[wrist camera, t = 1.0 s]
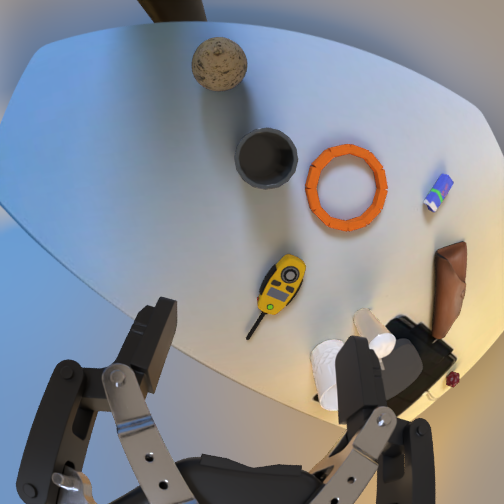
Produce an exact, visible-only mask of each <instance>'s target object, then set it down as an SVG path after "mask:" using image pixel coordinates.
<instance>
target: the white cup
mask: <svg viewBox="0 0 504 504" xmlns="http://www.w3.org/2000/svg"><path fill="white" fill-rule="evenodd" d="M344 344H345V343H344V342H343V341H341V340H336V339H331V340H327V341H324V342H322V343H320V344H319V345H317V346H316V347H315V349H314V350H313V351H312V353H311V357H310V360H311V364H312V368H313V375H314V380H315V385H316V389H317V393H318V397H319V402H320V405H321V407H322V408H324V409H326V410H329V411H338V399H337V384H336V372H335V359H336V355H337V353H338V352H339V350H340V349H341V348H342V346H343V345H344Z"/></svg>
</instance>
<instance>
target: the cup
mask: <svg viewBox="0 0 504 504" xmlns="http://www.w3.org/2000/svg"><path fill="white" fill-rule="evenodd" d="M297 163H298V156H297V149H296V147H295V145H294V144H293V142H292V140H291V139H290V138H289V137H288V136H287V135H285V134H284V133H283V132H281V131H280V130H276V129H272V128H261V129H255V130H253V131H252V132H250V133H248V134H247V135H245V136H244V137H243V139H242V140H241V141H240V143H239V144H238V145H237V149H236V153H235V164H236V169H237V171H238V173H239V174H240V176H241V177H242V179H243V180H244V181H245V182H247V183H248V184H250V185H251V186H253V187H255V188H260V189H264V190H265V189H266V190H267V189H273V188H277V187H280V186H281V185H283V184H285V183H286V182H288V181H289V180H290V178H291V177H292V175H293V174H294V173H295V171H296V167H297Z"/></svg>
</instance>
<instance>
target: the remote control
mask: <svg viewBox="0 0 504 504" xmlns="http://www.w3.org/2000/svg"><path fill="white" fill-rule="evenodd" d="M305 269H306V265H305V263H304V262H303V261H302V260H301V259H300V258H298V257H296V256H294V255H290V254H286V255H285V256H284V257H283V258H282V259H281V260H280V261H279V262H278V263H277V264H276V265H274V266H273V267H272V268H271V269H270V271H269V272H268V273H267V275H266V276H265V278H264V280H263V282H262V285H261V287H260V291H259V292H260V294H259V297H257V301H258V308H259V309H260V310H261V311H262V313H261V315H260V316H259V318H258V319H257V321H256V323H255V324H254V326H253V327H252V329H251V330H250V332H249V333H248V335H247V337H246V340H249V339H250V337H251V336H252V334H253V333H254V331H255V330H256V328H257V326H258V325H259V323H260V322H261V320H262V319H263V317H264V316H265V314H272V315H275V314H277V313H278V312H280V311H281V310H282V309H283V308H284V307H285V306H287V305H288V304H289V303H290V302H291V301H292V299H293V298H294V297H295V295H296V294H297V292H298V290H299V289H300V287H301V284H302V282H303V276H304V273H305Z"/></svg>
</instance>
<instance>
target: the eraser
mask: <svg viewBox="0 0 504 504" xmlns="http://www.w3.org/2000/svg"><path fill="white" fill-rule="evenodd" d="M452 185H453V181H452V179H451V178H450V176H449V175H447V174H441V175H440V177H439V179H438V180H437V182H436V183H435V185H434V187H433V188H432V190H431V191H430V193H429V194H428V196H427V197H426V199H425V200H424V202H423V203H424V204H426V205H427V207H428V209H429V210H430V211H432V212H436V210H437V209H438V207H439V206H440V204H441V203H442V201H443V200H444V198H445V196H446V195H447V193H448V192H449V190H450V188H451V187H452Z"/></svg>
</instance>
